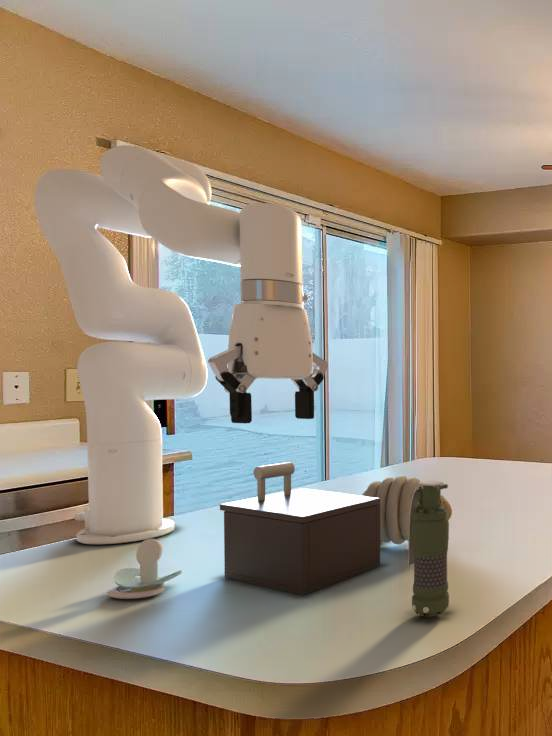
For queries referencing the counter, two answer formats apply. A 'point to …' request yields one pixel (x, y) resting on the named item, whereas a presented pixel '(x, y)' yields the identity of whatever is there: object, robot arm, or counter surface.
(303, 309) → the robot arm
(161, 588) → the pacifier
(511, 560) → the counter surface
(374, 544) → the dark wooden chest
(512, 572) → the counter surface
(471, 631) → the counter surface
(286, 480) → the lid
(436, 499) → the grenade
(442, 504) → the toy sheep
